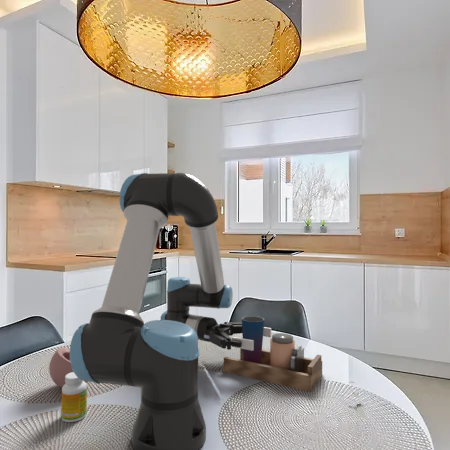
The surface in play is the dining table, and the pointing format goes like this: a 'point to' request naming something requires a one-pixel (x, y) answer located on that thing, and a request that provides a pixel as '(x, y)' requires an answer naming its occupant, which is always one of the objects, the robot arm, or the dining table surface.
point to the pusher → (298, 359)
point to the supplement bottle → (74, 398)
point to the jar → (281, 350)
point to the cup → (253, 337)
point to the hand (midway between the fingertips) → (262, 338)
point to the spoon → (359, 407)
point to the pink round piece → (60, 366)
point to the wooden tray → (276, 371)
